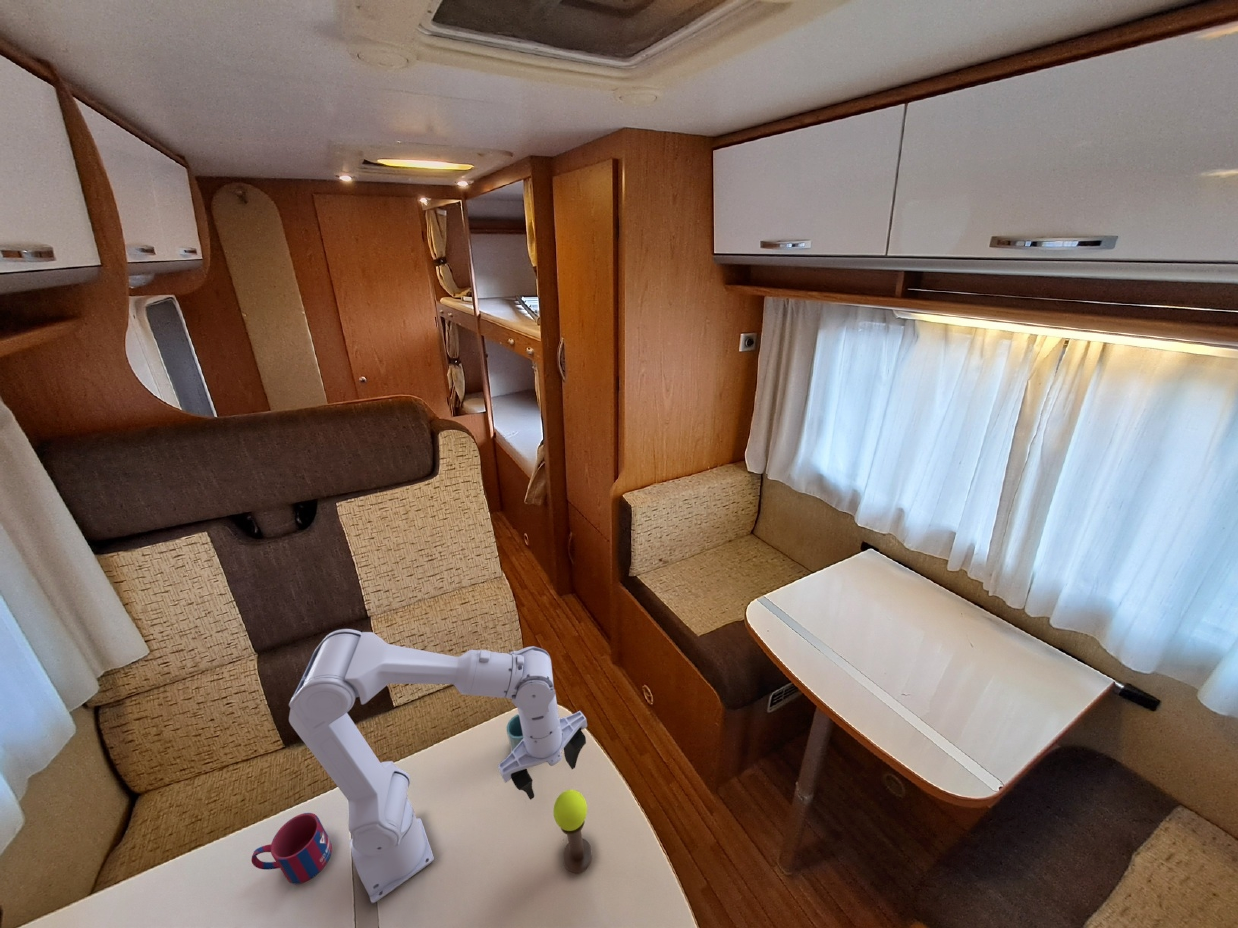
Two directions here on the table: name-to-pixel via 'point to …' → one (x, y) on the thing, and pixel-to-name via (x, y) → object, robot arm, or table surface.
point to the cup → (297, 849)
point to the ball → (570, 810)
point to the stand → (576, 851)
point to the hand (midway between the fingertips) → (550, 778)
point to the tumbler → (514, 732)
